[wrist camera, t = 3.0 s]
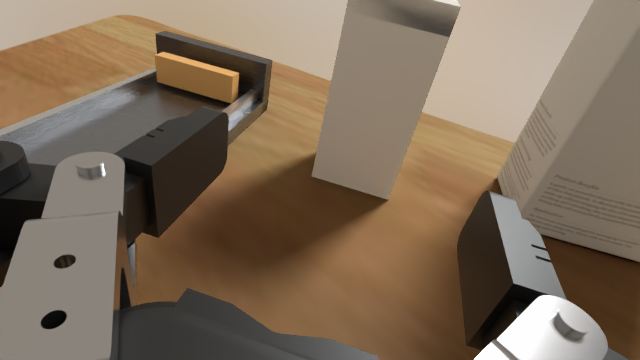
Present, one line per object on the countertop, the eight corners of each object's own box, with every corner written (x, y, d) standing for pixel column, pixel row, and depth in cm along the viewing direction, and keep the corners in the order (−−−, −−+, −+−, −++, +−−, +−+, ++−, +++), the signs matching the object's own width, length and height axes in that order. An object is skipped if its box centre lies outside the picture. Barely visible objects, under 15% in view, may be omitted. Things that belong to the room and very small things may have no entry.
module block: (393, 168, 25) (455, -2, 19) (388, 199, 22) (460, 6, 16) (326, 148, 26) (365, -24, 20) (311, 176, 22) (352, -20, 16)
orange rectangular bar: (237, 98, 27) (239, 72, 25) (231, 103, 26) (232, 76, 25) (165, 78, 27) (163, 51, 26) (157, 81, 26) (154, 54, 25)
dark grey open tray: (267, 108, 29) (272, 60, 27) (149, 218, 17) (140, 146, 15) (168, 80, 30) (165, 31, 28) (-12, 164, 18) (-43, 88, 16)
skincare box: (604, 207, 26) (805, -35, 17) (650, 273, 21) (976, -31, 12) (490, 175, 27) (627, -72, 18) (506, 229, 22) (710, -84, 13)
